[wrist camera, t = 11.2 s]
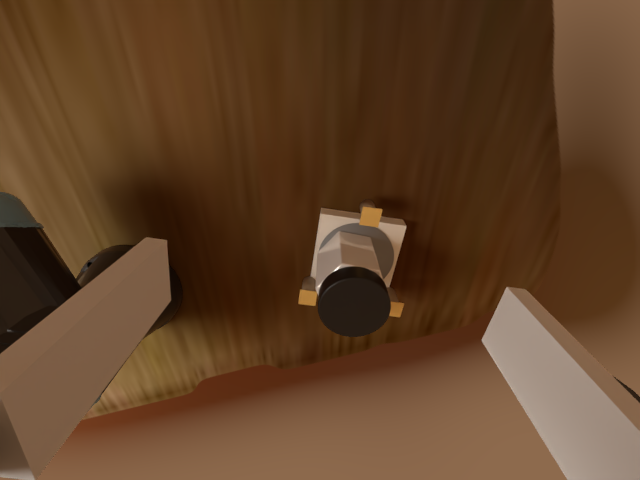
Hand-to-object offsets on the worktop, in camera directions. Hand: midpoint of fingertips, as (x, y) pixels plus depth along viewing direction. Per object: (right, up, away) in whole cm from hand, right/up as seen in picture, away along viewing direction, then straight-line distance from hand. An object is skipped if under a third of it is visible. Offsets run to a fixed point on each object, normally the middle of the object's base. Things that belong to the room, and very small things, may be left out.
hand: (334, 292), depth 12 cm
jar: (+4, 0, +33) cm, 34 cm away
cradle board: (+5, +2, +35) cm, 36 cm away
